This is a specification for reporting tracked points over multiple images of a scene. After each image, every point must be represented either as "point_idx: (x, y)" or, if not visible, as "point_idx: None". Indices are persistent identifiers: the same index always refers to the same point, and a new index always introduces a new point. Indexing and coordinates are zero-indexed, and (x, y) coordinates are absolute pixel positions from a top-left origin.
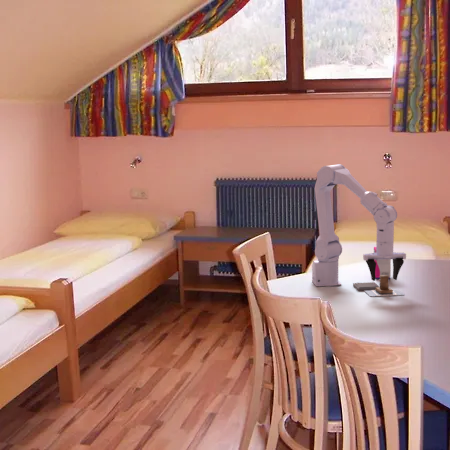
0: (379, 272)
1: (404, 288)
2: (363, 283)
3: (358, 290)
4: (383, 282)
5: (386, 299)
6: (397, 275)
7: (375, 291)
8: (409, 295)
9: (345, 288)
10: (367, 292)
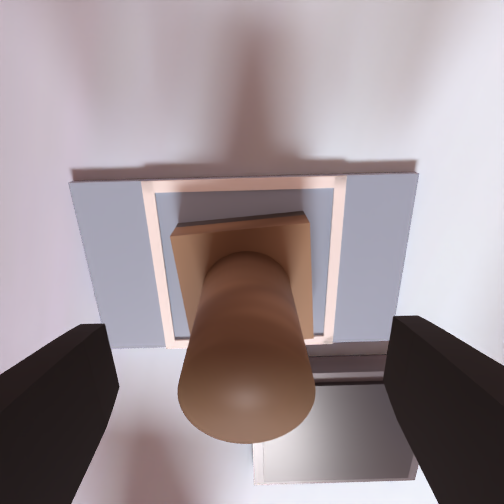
0: None
1: None
2: (350, 465)
3: None
4: (271, 296)
5: (285, 52)
6: (26, 358)
7: None
8: (20, 177)
9: None
10: (389, 292)
